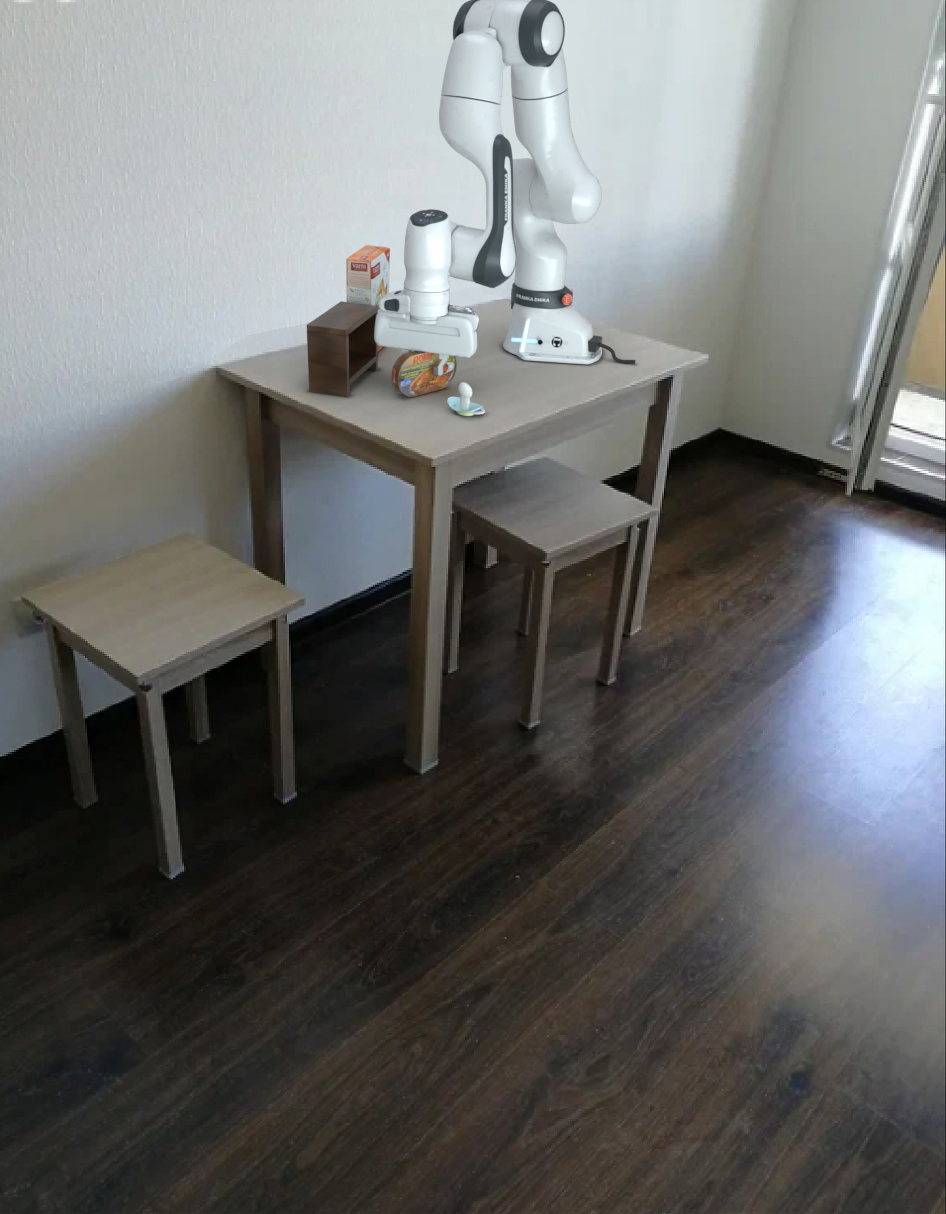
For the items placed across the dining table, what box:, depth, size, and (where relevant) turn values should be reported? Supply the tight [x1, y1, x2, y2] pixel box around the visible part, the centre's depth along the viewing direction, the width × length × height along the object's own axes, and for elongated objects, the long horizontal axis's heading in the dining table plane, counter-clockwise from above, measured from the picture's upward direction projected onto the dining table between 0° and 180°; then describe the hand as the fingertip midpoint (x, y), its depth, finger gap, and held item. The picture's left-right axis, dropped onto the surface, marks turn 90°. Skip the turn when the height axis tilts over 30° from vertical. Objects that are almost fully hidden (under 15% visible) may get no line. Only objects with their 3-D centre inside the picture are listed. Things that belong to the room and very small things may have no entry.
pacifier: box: [446, 381, 486, 417], centre depth 187 cm, size 7×6×6 cm
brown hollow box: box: [306, 300, 379, 398], centre depth 197 cm, size 8×18×13 cm, turn 165°
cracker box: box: [345, 244, 391, 353], centre depth 212 cm, size 14×6×21 cm, turn 168°
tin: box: [391, 350, 458, 398], centre depth 195 cm, size 15×3×8 cm, turn 132°
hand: (424, 372), depth 195 cm, fingers closed on tin, 4 cm apart
